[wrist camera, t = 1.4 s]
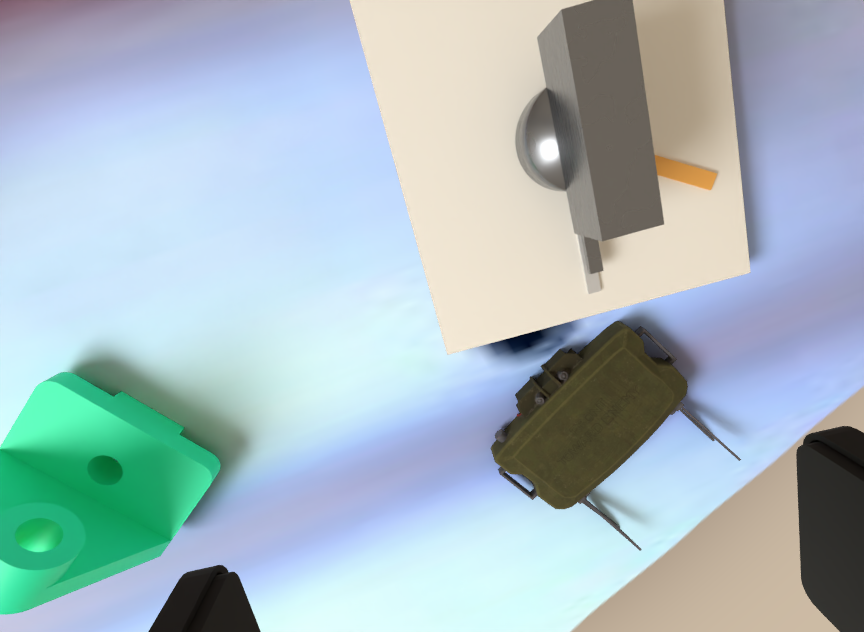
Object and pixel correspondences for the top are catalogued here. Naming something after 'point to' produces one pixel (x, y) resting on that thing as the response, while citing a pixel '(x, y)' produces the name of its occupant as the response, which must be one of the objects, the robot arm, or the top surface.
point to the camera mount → (90, 489)
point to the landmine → (589, 416)
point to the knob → (593, 125)
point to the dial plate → (525, 199)
